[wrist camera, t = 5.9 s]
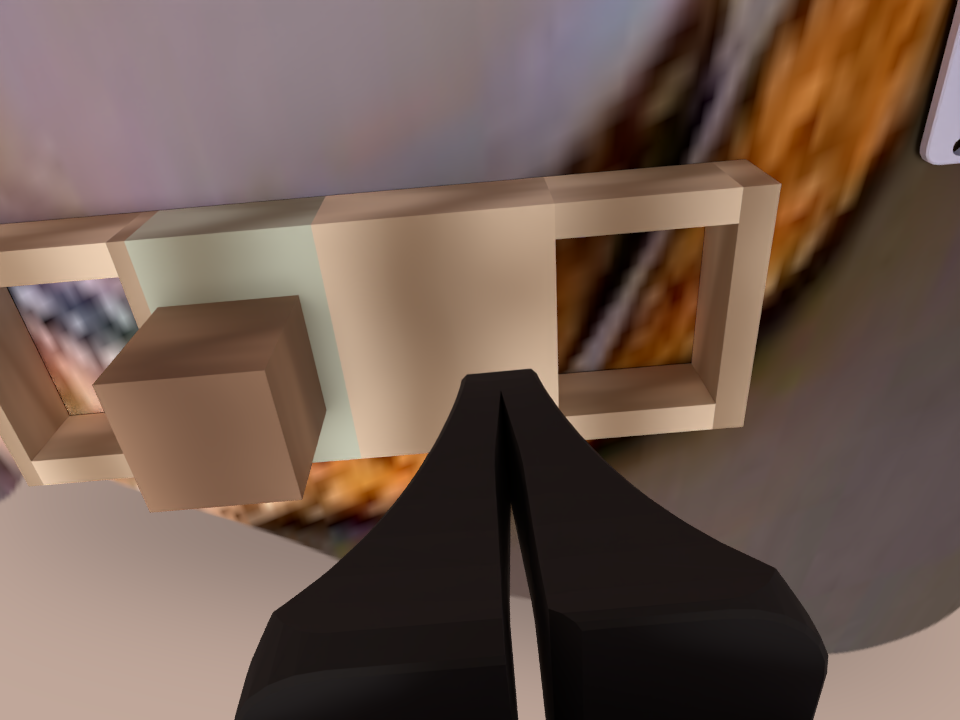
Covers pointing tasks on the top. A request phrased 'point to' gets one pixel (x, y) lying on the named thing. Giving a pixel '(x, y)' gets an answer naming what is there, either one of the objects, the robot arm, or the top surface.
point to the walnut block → (217, 404)
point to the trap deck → (407, 302)
